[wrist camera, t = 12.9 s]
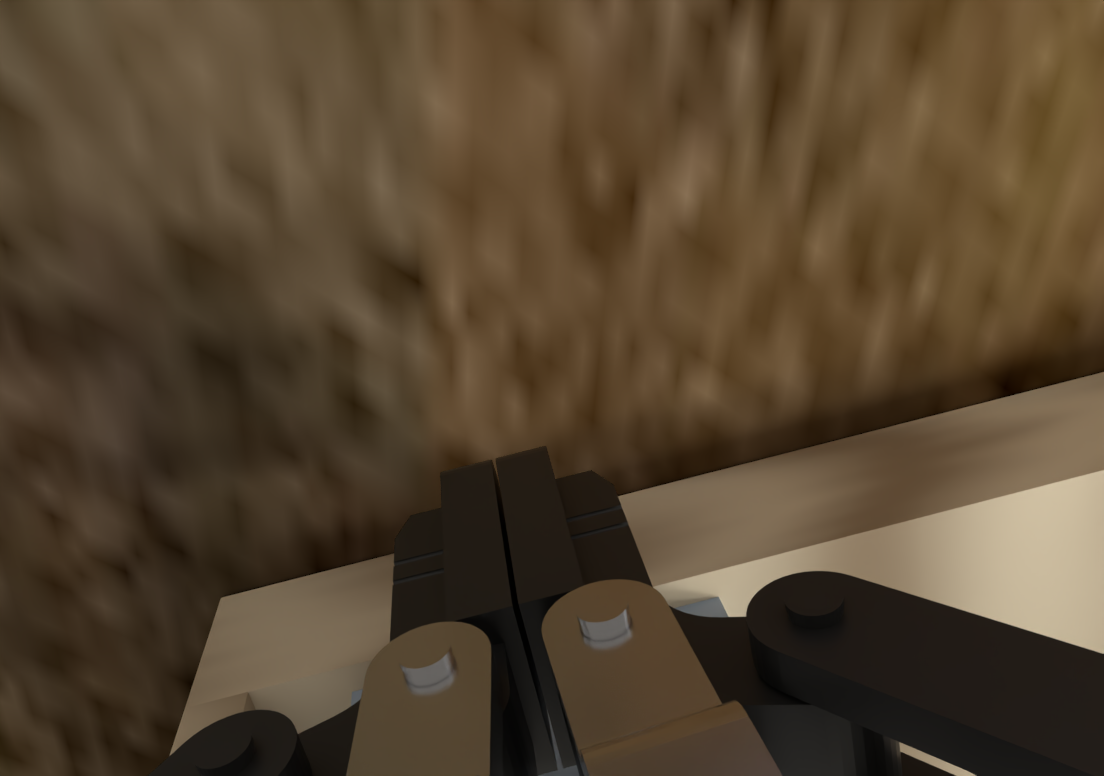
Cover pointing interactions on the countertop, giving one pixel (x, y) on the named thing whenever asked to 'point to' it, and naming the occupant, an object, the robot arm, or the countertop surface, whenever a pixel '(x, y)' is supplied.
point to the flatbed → (763, 548)
